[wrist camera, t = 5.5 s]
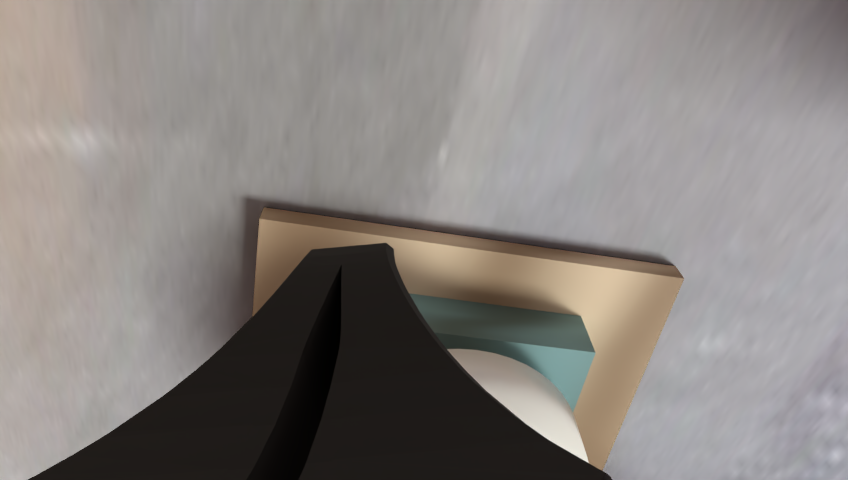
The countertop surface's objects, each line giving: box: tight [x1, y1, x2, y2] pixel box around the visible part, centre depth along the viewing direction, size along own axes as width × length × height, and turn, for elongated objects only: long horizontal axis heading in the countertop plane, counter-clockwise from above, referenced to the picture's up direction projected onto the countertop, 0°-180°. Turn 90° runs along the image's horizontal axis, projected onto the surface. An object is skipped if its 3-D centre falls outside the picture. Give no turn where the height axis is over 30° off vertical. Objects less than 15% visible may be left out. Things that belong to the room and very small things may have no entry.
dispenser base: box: [252, 207, 684, 471], centre depth 24 cm, size 14×12×3 cm
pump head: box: [447, 349, 589, 463], centre depth 23 cm, size 8×8×4 cm
